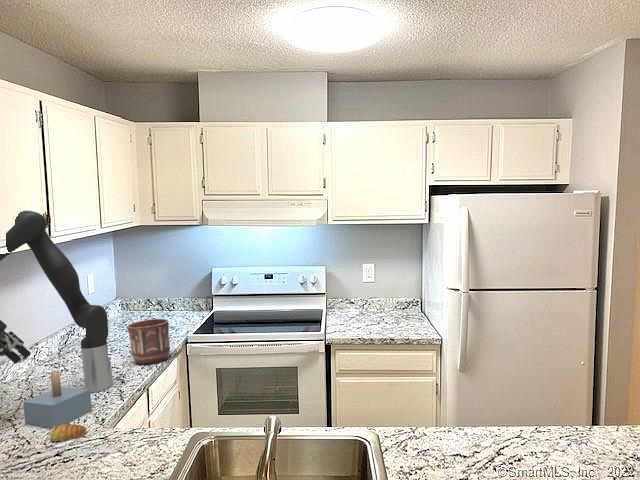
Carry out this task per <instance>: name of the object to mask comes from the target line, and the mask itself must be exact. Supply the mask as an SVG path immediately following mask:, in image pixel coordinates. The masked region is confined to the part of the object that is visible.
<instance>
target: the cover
mask: <svg viewBox="0 0 640 480" xmlns="http://www.w3.org/2000/svg"><path fill="white" fill-rule="evenodd" d="M49 374H50V381H51V390H50V391H46V392H44V393H42V394H39V395H37V396H33V397H32V398H29V399H28V400H25V401H23V402H22V403H23V406H22V407H23V413H24V423H25V424H24V425H25V426H32V427H37V428H38V427H39V428H47V429H52V428H53V427H54V426H61V425H62V424H65V425H66V424H70V422H73V421H74V420H77V419H79V418H81V417H83V416H85V415H87V414H89V413H91V412H92V411H93V407H92V397H91V393H90V389H85V388H80V387H79V388H78V387H70V386H69V387H68V386H62V385H61V376H60V371H59V370H54V371H51V372H50V373H49Z"/></svg>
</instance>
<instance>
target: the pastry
mask: <svg viewBox="0 0 640 480" xmlns="http://www.w3.org/2000/svg"><path fill="white" fill-rule="evenodd" d="M86 433H87V427H86V426H84V425H81V424H75V423H74V424H73V423H72V424H71V423H66V424H62V425H61V426H54V427H53V428H51V431H50V435H49V440H50V441H51V442H54V443H55V442H56V443H57V442H58V441H59V442H65V441H70V440H73V439H78V438H79V437H82V436H84V435H85V434H86Z"/></svg>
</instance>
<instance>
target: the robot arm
mask: <svg viewBox="0 0 640 480" xmlns="http://www.w3.org/2000/svg"><path fill="white" fill-rule="evenodd" d="M19 212H20V213H19ZM19 212H18V213H19V214H18V216H17V217H16V219H15V225H14V226H13V225H12V227H10V229H9V230H7V231H6V232H7V233H6V232H5V233H6V247H7V250H8V252H10V253H6V254H0V262H1V261H2V260H3V259H5V258H6V257H7V256H9V255H10V254H11V253H13V252H14V251H16V250H17V249H19V248H20V247H22V246H23V245H25V244H26V245H27V246H28V247H29V249H30V250H31V252H32V254H33V255H34V257H35V258H36V262H37V263H38V264H39V266H40V268H41V270H42V271H43V272H44V274H45V277H47V279H48V280H49V282H50V284H51V285H52V286H53V288H54V289H55V291H56V292H57V293H58V295H59V296H60V298H61V300H62V301H63V302H64V304H65V306H66V308H67V309H68V312H69V313H70V315H71V318H72V319H73V321H74V323H75V324H76V325H77V326H78V327H79V328H82V329H85V337H84V338H82V339H81V340H80V349H81V360H82V370H83V377H84V378H83V379H84V389H90V394H91V393H99V392H103V391H105V390H107V389H110V388H111V387H112V386H113V385H114V380H113V370H112V369H113V368H112V361H111V360H110V359H109V351H108V337H109V319H108V318H109V317H108V313H107V310H106V309H105V308H104V307H103V306H101V305H99V304H98V305H96V304H90V302H89V301H88V300H87V299H86V297H85V296H84V294H83V293H82V290H81V287H80V285H81V284H80V278H79V275H78V272H77V271H76V269H75V267H74V266H73V264H72V262H71V261H70V260H69V259H68V257H67V256H66V254H64V252H63V251H62V250H61V249H60V248H59V247H58V246H57V245H56V244H55V243H54V242H53V240H52V239H51V237H50V236H49V234H48V232H47V230H46V229H47V226H48V222H47V220H46V218H45V216H44V215H43V214H42V213H39V212H37V211H33V210H22V212H21V211H19ZM12 251H13V252H12ZM7 327H8V325H7V324H6V323H5V322H4V321H3V320H1V319H0V357H3V356H4V357H7V358H8V359H9V360H11V362H13V363H14V364H15V365H16V364H18V363H19V362H20V361H22V357H23V358H24V359H27V358H28V357H29V356H31V355H32V353H31V352H30V351H29V349H27V348H26V347H25V345H24V344H25V342H24V341H23V340H22V339H21V338H20V337H19V336H18V335H16V334H15V333H14V332H13V331H11V330H10V331H9V332H6V329H7ZM14 350H15V351H17V352H18V353H19V354H20V355H21V356H22V357H21V356H20V355H18V353H16V352H15V351H14ZM109 360H110V361H109Z"/></svg>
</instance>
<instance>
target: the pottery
mask: <svg viewBox="0 0 640 480" xmlns="http://www.w3.org/2000/svg"><path fill="white" fill-rule="evenodd" d="M126 327H127V332H128V336H129V342H130V351H131V356H132V358H133V359H134V362H136V363H138V364H139V363H140V364H139V365H141V364H150V365H155V364H159V363H161V362H164V361H165V360H166V358H167V357H168V356H169V353H170V350H171V349H170V347H171V346H170V337H169V336H170V334H169V331H170V330H169V329H170V328H169V327H170V326H169V320H167V319H166V318H165V319H164V318H155V319H154V318H153V319H152V318H151V319H146V320H145V319H144V320H140V321H136V322H133V323H131V324H129V325H127V326H126Z"/></svg>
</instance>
